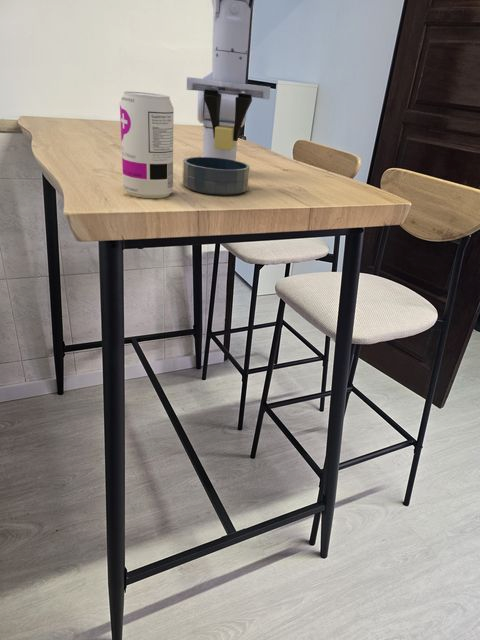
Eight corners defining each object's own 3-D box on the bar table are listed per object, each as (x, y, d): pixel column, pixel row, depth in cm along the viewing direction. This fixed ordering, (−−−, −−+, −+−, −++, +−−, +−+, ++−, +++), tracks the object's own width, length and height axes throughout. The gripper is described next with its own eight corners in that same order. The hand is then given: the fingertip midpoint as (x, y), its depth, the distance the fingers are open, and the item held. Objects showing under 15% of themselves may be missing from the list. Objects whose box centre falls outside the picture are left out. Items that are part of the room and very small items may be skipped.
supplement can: (122, 197, 77) (118, 93, 69) (124, 186, 84) (120, 89, 76) (173, 200, 79) (174, 98, 71) (171, 189, 86) (172, 95, 78)
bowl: (190, 178, 95) (190, 154, 93) (250, 185, 95) (252, 161, 93) (175, 191, 84) (176, 164, 82) (243, 199, 84) (245, 173, 82)
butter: (220, 144, 91) (221, 124, 89) (236, 146, 91) (237, 126, 89) (214, 148, 85) (215, 127, 83) (230, 150, 85) (231, 129, 83)
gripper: (183, 46, 77) (181, 136, 84) (271, 56, 77) (263, 146, 84) (192, 48, 83) (190, 132, 90) (274, 58, 83) (265, 141, 90)
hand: (225, 139), depth 87 cm, fingers closed on butter, 3 cm apart
